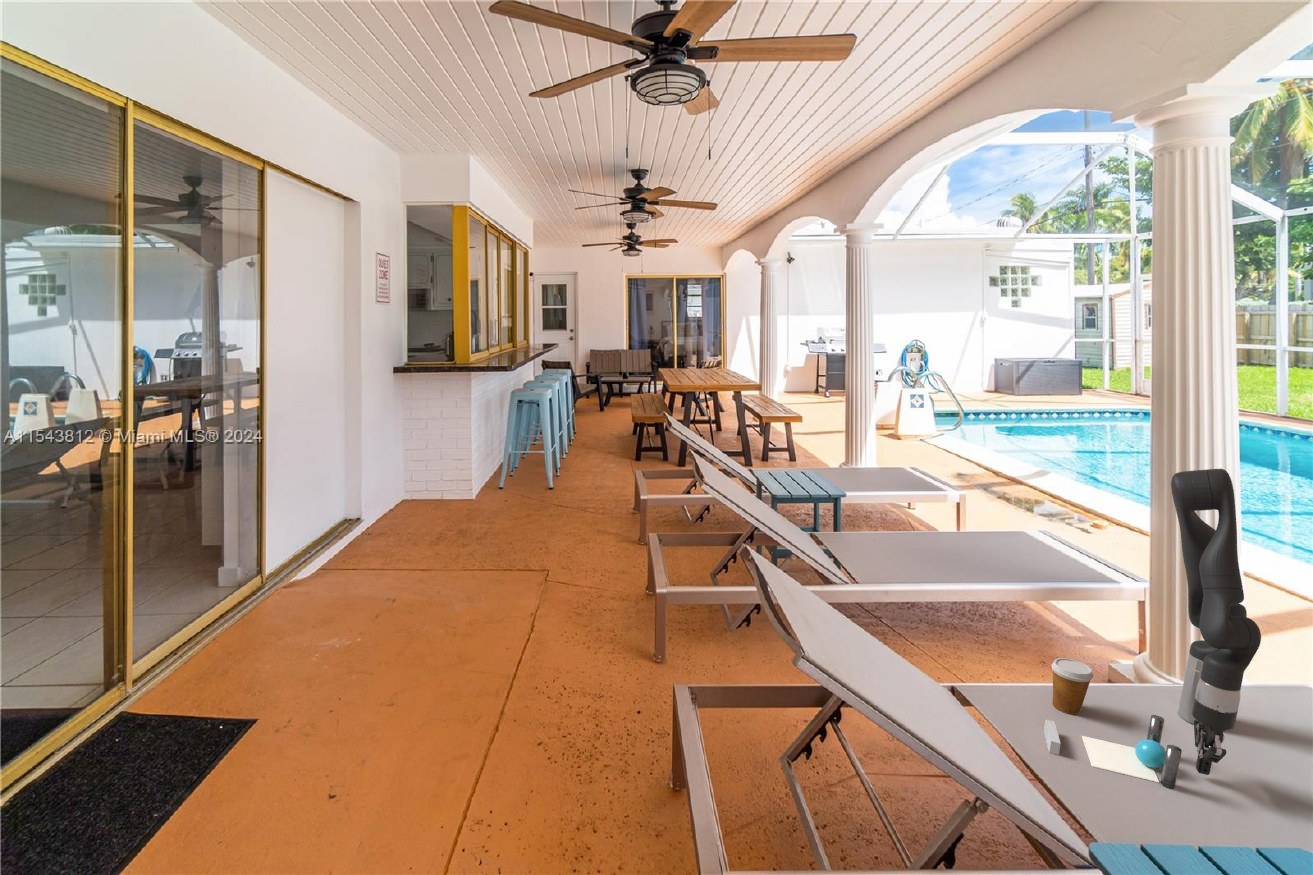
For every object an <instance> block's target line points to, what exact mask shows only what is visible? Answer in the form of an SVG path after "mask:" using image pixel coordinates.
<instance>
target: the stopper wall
mask: <svg viewBox="0 0 1313 875" xmlns="http://www.w3.org/2000/svg"><path fill="white" fill-rule="evenodd" d="M1043 733H1044V737H1045V741H1046V746H1047V749H1048V753H1049V754H1053V755H1057V756H1060V752H1061V751H1060V749H1061V744H1062V743H1061V739H1060V737H1059V732H1058V729H1057V726H1056V722H1055V721H1054V720H1049V719H1045V721H1044V726H1043Z"/></svg>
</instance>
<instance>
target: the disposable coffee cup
mask: <svg viewBox="0 0 1313 875" xmlns="http://www.w3.org/2000/svg"><path fill="white" fill-rule="evenodd" d="M1051 668H1052V706H1053V708H1055V709H1056V710H1058V711H1060V712H1062V713H1064V714H1069V715H1078V714H1080V713H1079V712H1081V710H1082V707H1083V703H1084V700H1085V697H1086V695H1087V691H1088V689H1089V686H1090V683H1091V681H1092V679H1093V678H1094V674H1093V670H1092V668H1091V667H1090V666H1089V665H1087V664H1086V663H1083V662H1081V661H1078V660H1076V659H1071V658H1067V657H1066V658H1065V657H1058V658H1055V659H1054V661H1053V662H1052V663H1051Z"/></svg>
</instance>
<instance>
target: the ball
mask: <svg viewBox="0 0 1313 875" xmlns="http://www.w3.org/2000/svg"><path fill="white" fill-rule="evenodd" d="M1134 748H1135V753H1136V756H1137V758H1138V759H1139V761H1140V762H1141V763H1143V764H1144V765H1146V766H1148V767H1151V768H1153V769H1159V768H1161V767H1162V768H1163V765H1164V760H1165V755H1166V749H1165V748H1164V746H1162V745H1161V743H1160V744H1159V743H1158V742H1156V741H1153V740H1147V739H1142V740H1139V742H1137V743H1136V746H1135V747H1134Z"/></svg>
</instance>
